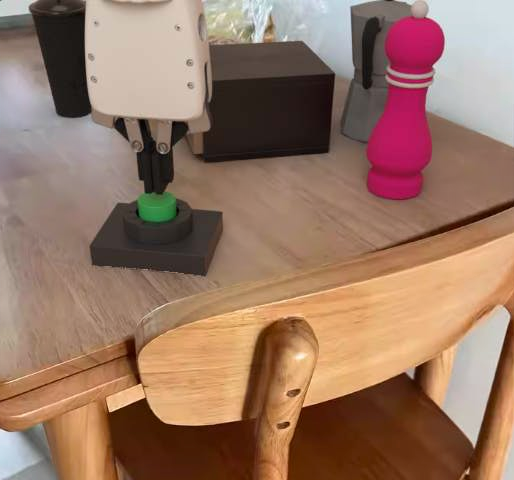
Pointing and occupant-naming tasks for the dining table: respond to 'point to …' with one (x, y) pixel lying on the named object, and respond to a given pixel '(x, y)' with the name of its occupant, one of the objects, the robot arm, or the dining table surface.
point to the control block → (158, 240)
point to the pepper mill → (405, 107)
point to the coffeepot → (369, 65)
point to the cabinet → (268, 101)
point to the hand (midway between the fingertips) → (157, 187)
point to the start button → (157, 206)
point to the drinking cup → (64, 53)
